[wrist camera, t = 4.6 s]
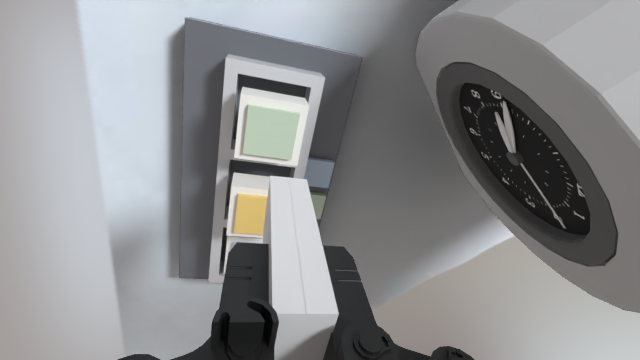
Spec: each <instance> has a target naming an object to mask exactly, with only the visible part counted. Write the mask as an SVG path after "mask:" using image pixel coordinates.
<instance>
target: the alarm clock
mask: <svg viewBox="0 0 640 360" xmlns="http://www.w3.org/2000/svg"><path fill="white" fill-rule="evenodd" d="M415 55H416V65H417V68H418V70H419V73H420V75H421V77H422V80H423V82H424V84H425V87H426V89H427V91H428V94H429V96H430V98H431V101H432V103H433V105H434V107H435V110H436V112H437V114H438V117H439V119H440V121H441V124H442V126H443V128H444V131H445V133H446V135H447V138H448V140H449V142H450V145H451V147H452V149H453V152H454V154H455V156H456V158H457V161H458V163H459V165H460V168H461V170H462V172H463V174H464V176H465V177H466V179H467V180H468V182H469V183H470V184H471V186H472V187H473V188H474V190H475V191H476V192H477V193H478V195H479V196H480V197H481V198H482V200H483V201H484V202H485V203H486V205H487V206H488V207H489V208H490V210H491V211H492V212H493V213H494V214H495V215H496V216H497V217H498V218H499V219H500V220H501V222H502V223H503V224H504V225H505V226H506V227H507V228H508V229H509V230H510V231H511V232H512V233H513V234H514V235H515V236H516V237H517V238H518V239H519V240H520V241H521V242H522V243H523V244H524V245H526V246H527V248H529V249H530V250H531V251H532V252H533V253H534V254H535V255H536V256H537V257H539V258H540V259H541V260H542V261H544V262H545V263H546V264H547V265H549V266H550V267H551V268H552V269H554V270H555V271H556V272H557V273H558V274H560V275H561V276H562V277H564V278H565V279H567V280H568V281H570V282H572V283H573V284H575V285H576V286H578V287H579V288H581V289H582V290H584V291H586V292H587V293H589V294H590V295H592V296H594V297H596V298H598V299H600V300H603V301H605V302H607V303H609V304H611V305H614V306H616V307H618V308H620V309H622V310H627V311H632V312H638V313H640V0H458V1H457V2H455V3H454V4H452V5H451V6H449V7H448V8H446V9H445V10H443V11H442V12H441V13H439V14H438V15H436V16H435V17H433V18H432V19H431V21H430V22H429V23H428V24H427V25H426V26H425V28H424V29H423V30H422V31H421V32H420V35H419V39H418V43H417V48H416V52H415Z"/></svg>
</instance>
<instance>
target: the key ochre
mask: <svg viewBox="0 0 640 360" xmlns="http://www.w3.org/2000/svg"><path fill="white" fill-rule="evenodd" d="M269 182H270V177H268V176H260V175H251V174H243V173H234V174H233V179H232V185H231V193H230V203H229V213H228V223H227V232H226V235H227V236H241V237H256V238H263V227H264V220H265V212H266V204H267V197H268V189H269Z"/></svg>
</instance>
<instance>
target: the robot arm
mask: <svg viewBox="0 0 640 360" xmlns="http://www.w3.org/2000/svg"><path fill="white" fill-rule="evenodd" d="M118 360H160V359H158V358H156V357H154V356H151V355H149V354H134V355H131V356H127V357H124V358H121V359H118ZM171 360H474V359H473V358H472V357H471V356H469V355H468V354H466V353H464V352H463V351H461V350H460V349H456V348H453V347H450V346H445V347H439V348H438V349H436V350H435V351H433V353H432V355H431V357H430V356H427V355H423V354H421V353H417V352H414V351H411V350H408V349H405V348H402V347H400V346H398V345H396V344H394V343H393V341H392V339H391V338H390V336H389V335H388V334H387V333H386V332H385V331H384V330H383V329H382V328H380V327H379V326H377V324H376V322H375V319H374V316H373V313H372V310H371V307H370V305H369V302H368V299H367V296H366V293H365V290H364V288H363V285H362V282H361V279H360V276H359V273H358V272H357V268H356V265H355V262H354V259H353V257H352V256H351V255H350V254H349V252H348V251H347V250H346V249H345V248H344V247H336V246H323V245H322V241H321V237H320V233H319V228H318V224H317V220H316V216H315V212H314V207H313V203H312V199H311V195H310V191H309V186H308V182H307V179H298V178H288V177H278V176H270V182H269V189H268V197H267V204H266V212H265V220H264V227H263V244H261V243H243V242H237V243H236V244H235V245H234V247H233V248H232V249H231V250H230V252H229V253H228V258H227V264H226V270H225V276H224V282H223V289H222V295H221V301H220V307H219V309H218V310H217V311H216V314H215V316H214V318H213V321H212V330H211V337H210V338H209V339H208V340H207V341H206V342H205V343H204V344H203V345H202V346H201V347H199V348H198V349H196V350H195V351H193V352H190V353H188V354H186V355H183V356H180V357H177V358H174V359H171Z"/></svg>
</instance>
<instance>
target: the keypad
mask: <svg viewBox="0 0 640 360" xmlns="http://www.w3.org/2000/svg"><path fill="white" fill-rule="evenodd" d="M361 62H362V57H359V56H357V55H354V54H350V53H345V52H341V51H336V50H332V49H327V48H323V47H319V46H314V45H310V44H305V43H301V42H297V41H292V40H288V39H283V38H279V37H274V36H270V35H266V34H261V33H257V32H252V31H248V30H244V29H239V28H235V27H230V26H226V25H222V24H217V23H213V22H208V21H204V20H199V19H195V18H185V34H184V79H183V125H182V170H181V215H180V261H179V278H196V279H209V281H208V282H211V283H223V282H224V276H225V274H223V273H224V263H225V254H226V244H227V235H226V232H227V223H228V213H229V203H230V193H231V185H232V179H233V174H234V173H243V174H251V175H260V176H268V177H270V176H278V177H288V178H298V179H307V182H308V186H309V191H310V195H311V199H312V203H313V207H314V212H315V216H316V220H317V224H318V228H319V225H320V221H321V217H322V213H323V209H324V205H325V201H326V197H327V194H328V190H329V186H330V182H331V178H332V174H333V170H334V166H335V162H336V159H337V155H338V151H339V147H340V143H341V139H342V135H343V131H344V128H345V124H346V120H347V116H348V112H349V108H350V104H351V100H352V97H353V93H354V89H355V85H356V81H357V77H358V73H359V69H360V66H361ZM242 87H247V88H253V89H258V90H264V91H269V92H275V93H280V94H285V95H291V96H296V97H302V98H305V99H306V101H307V102H308V104H309V110H308V115H307V120H306V125H305V130H304V135H303V140H302V145H301V150H300V155H299V160H298V165H297V166H293V165H285V164H277V163H270V162H262V161H254V160H246V159H238V158H234V154H235V144H236V134H237V124H238V114H239V105H240V95H241V91H242Z"/></svg>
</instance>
